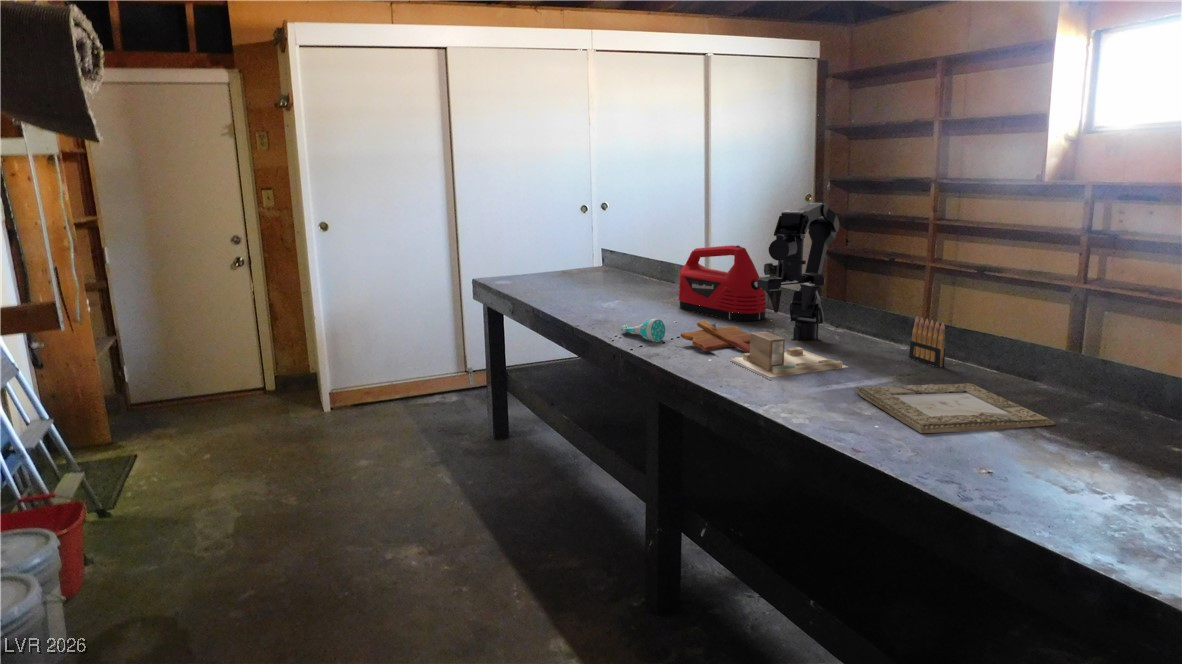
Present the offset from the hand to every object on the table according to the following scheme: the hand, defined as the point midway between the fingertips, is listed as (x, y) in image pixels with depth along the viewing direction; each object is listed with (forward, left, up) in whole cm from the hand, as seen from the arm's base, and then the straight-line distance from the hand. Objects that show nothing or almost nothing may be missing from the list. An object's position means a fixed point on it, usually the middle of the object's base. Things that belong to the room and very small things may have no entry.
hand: (789, 311), depth 207 cm
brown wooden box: (+16, +13, -11) cm, 23 cm away
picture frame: (-3, +55, -13) cm, 56 cm away
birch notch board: (+9, +13, -12) cm, 20 cm away
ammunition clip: (-27, +24, -12) cm, 38 cm away
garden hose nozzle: (+29, -36, -12) cm, 48 cm away
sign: (+14, -9, -11) cm, 20 cm away
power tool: (-11, -58, -12) cm, 61 cm away
